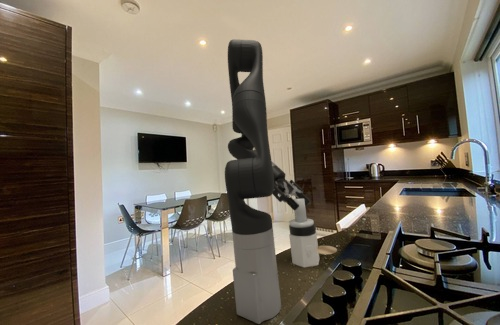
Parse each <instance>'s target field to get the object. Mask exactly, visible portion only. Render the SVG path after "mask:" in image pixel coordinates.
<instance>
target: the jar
mask: <svg viewBox="0 0 500 325" xmlns="http://www.w3.org/2000/svg"><path fill="white" fill-rule="evenodd" d="M288 228H289V236H288V237H289V244H290V252H291V260H292V262H291V263H292V264H293V265H296V266H298V267H301V268H309V267H316V266H319V265H320V264H319V263H320V254H319V251H318V246H319V244H318V236H317V229H316V228H317V227H316V223H314V225H312V226H310V227H303V228H297V227H291V226H290V224H288Z"/></svg>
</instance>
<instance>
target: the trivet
mask: <svg viewBox="0 0 500 325" xmlns="http://www.w3.org/2000/svg"><path fill="white" fill-rule="evenodd" d="M318 251H319V255H332V254H336V253H337V252H338V249H337V247H334V246H331V245H318Z"/></svg>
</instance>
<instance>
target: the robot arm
mask: <svg viewBox="0 0 500 325" xmlns="http://www.w3.org/2000/svg"><path fill="white" fill-rule="evenodd" d="M263 58H264V57H263V47H262V44H261V43H260V41H257V40H253V39H235V38H234V39H231V40H230V41H229V42H228V46H227V68H228V69H227V71H228V82H229V90H230V98H231V107H232V110H231V111H232V112H231V113H232V116H231V118H232V119H231V120H232V121H231V122H232V125H231V126H232V131H234V132H235V133H236V134H240V135H241V136H240V137H236V138H232V139H231V140H229V142H228V144H227V149H228V152H229V154H230V155H231V156H232V157H233V158H234V159H231V160H228V161H227V162H226V164H225V168H224V182H225V188H226V189H225V191H226V196H227V201H228V203H227V204H228V210H229V212H228V213H229V219H230V225H231V234H232V243H233V254H234V264H235V265H234V266H235V267H234V268H232V278H233V287H234V288H233V290H234V298H235V300H234V301H235V309H236V315H238V316H239V317H243V319H244V318H245V319H247V320H249V321H251V322H253V323H255V324H258V325H261V323H263V322H264V321H268V320H271V319H272V318H274V317H276V316H277V315H278V314H279V313H280V312H281V309H282V300H281V292H280V290H281V289H280V283H279V275H278V274H279V273H278V266H277V255H276V246H275V237H274V228H273V227H274V226H273V219H272V215H270V213H268V212H266V211H262V210H259V209H255V208H254V207H252V206H250V205H249V204H247V203H246V201H245V200H248V199H249V200H250V199H259V198H268V197H271V196H273V197H275V199H276V200H277V201H278V203H279V202H280V203H282V202H284V203H286V204H287V205H288V206H289V207H290V208H291V209H292V210H293V211H294V210H297V208H298V207H299V204H298V203H297V202H295V201H294V200H293V199H294V198H293V196H294V197H296V199H298V198H304V200H305V206H308V205H309V204H310V203H311V199H310V198H308V197H307V196H306V195H305V194H304V191H305V190H304V189H303V188H302V187H300V185H299V184H298V183H296V182H295V181H294V180H293V179H290V180H289V181H288V180H287V179H286V173H285V172H284V171H283V170H282V169H281V168H280V167H279V166H278V165H277V164H276V163H274V161H272V156H271V150H270V149H271V148H270V143H269V135H268V120H267V119H268V117H267V116H268V115H267V102H266V94H265V87H264V75H263V74H264V73H263V72H264V69H263V68H264V66H263V65H264V64H263V63H264V62H263ZM239 73H249V74H248V75H247V76H246V78H244V80H243V81H241V83H240V80H239Z"/></svg>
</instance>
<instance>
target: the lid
mask: <svg viewBox="0 0 500 325" xmlns="http://www.w3.org/2000/svg"><path fill="white" fill-rule="evenodd" d="M292 199H293V200H294V201H295V202H297V203H298V204H299V207H298V208H297V210H293V211H294V212H293V213H294V219H291V220H289V221H288V223H289V224H288V225H290V226H291V227H297V228H303V227H310V226H312V225H314V224H315V222H314V219H312V218H308V217H307V210H306V205H305V200H304V198H292Z"/></svg>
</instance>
